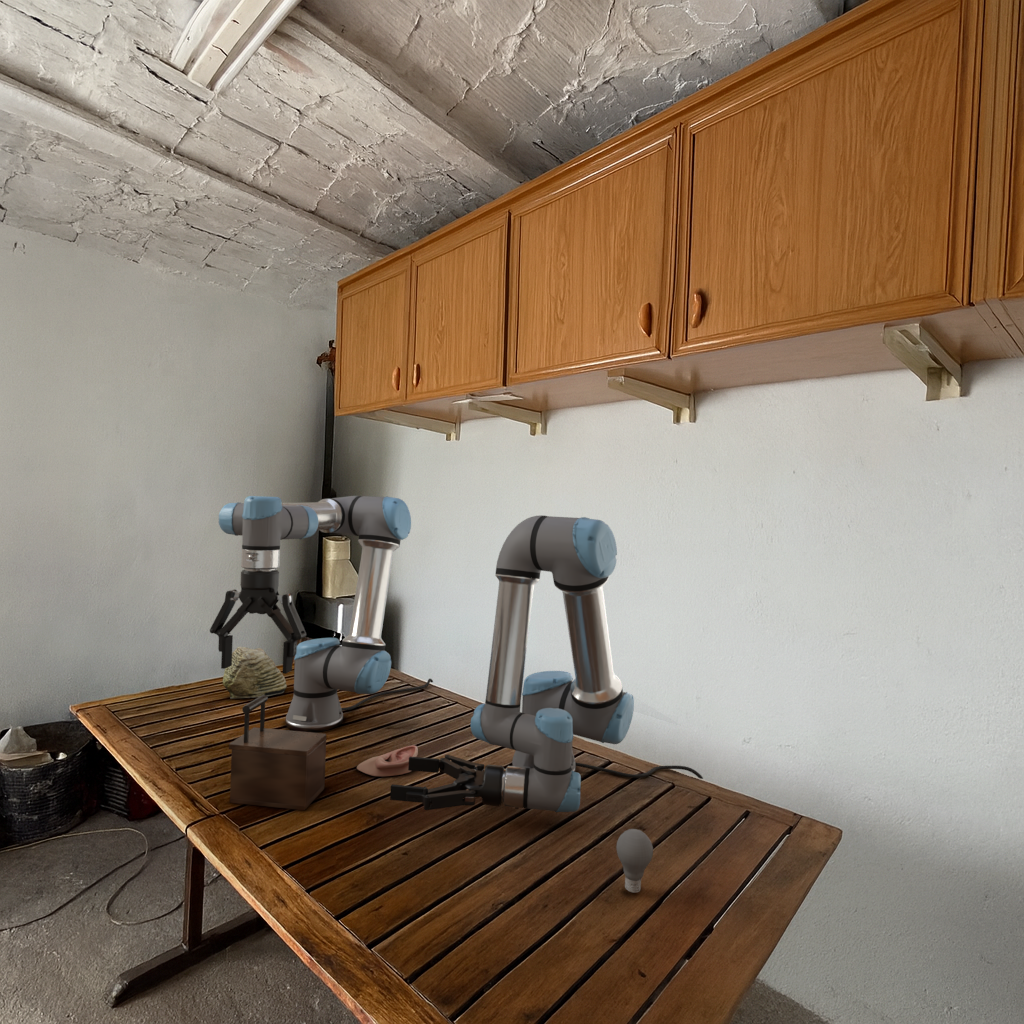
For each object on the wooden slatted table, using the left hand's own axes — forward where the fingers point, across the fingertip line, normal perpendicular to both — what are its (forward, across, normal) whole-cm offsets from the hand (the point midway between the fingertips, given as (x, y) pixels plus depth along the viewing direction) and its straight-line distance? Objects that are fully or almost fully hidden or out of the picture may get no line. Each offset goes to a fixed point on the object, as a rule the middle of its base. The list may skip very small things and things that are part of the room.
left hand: (256, 669), depth 134 cm
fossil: (+26, -33, +60) cm, 74 cm away
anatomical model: (+26, +24, +18) cm, 40 cm away
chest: (+26, +6, 0) cm, 27 cm away
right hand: (+19, +32, -1) cm, 38 cm away
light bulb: (+26, +78, -20) cm, 85 cm away
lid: (+15, +6, 0) cm, 16 cm away
